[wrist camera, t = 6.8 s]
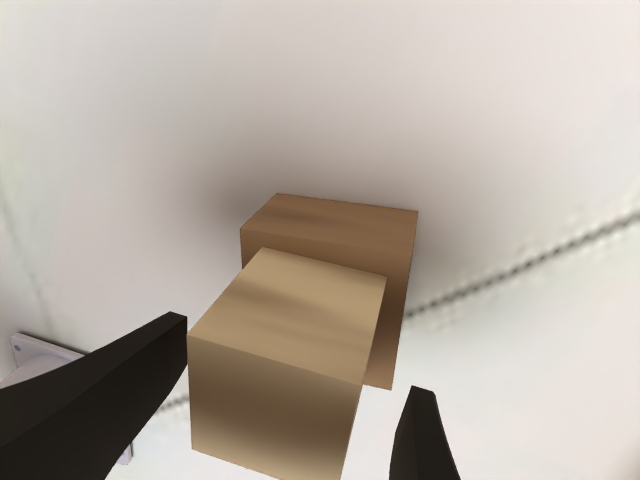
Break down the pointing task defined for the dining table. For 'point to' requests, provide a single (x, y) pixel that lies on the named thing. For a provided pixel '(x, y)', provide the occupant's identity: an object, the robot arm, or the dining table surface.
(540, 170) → the dining table surface
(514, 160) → the dining table surface
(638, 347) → the dining table surface
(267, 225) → the walnut plinth
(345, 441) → the beech cube
